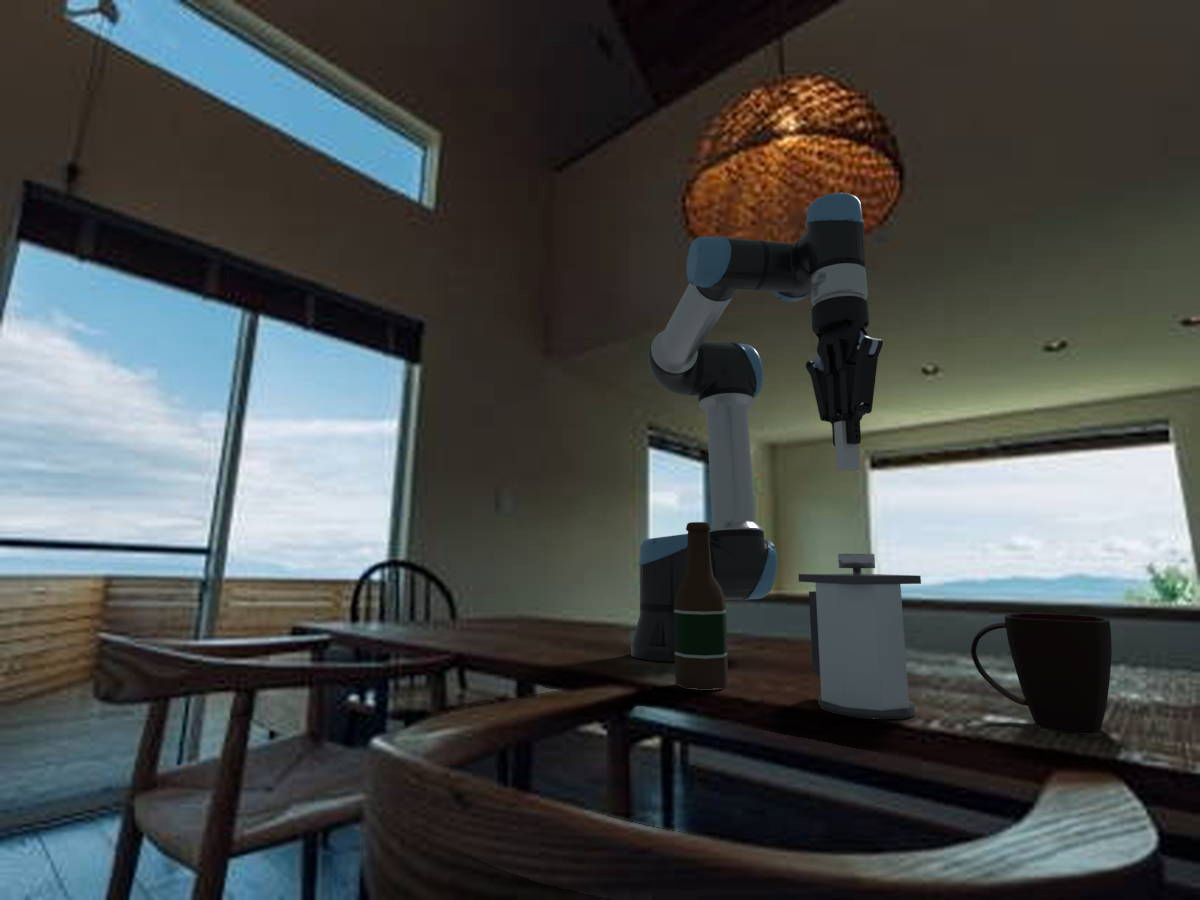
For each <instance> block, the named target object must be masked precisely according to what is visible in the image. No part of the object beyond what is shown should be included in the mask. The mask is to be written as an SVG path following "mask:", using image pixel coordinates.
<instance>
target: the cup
mask: <svg viewBox="0 0 1200 900" xmlns="http://www.w3.org/2000/svg"><path fill="white" fill-rule="evenodd" d="M999 629H1006V630H1005V631H1006V635H1007V636H1006V637H1007V641H1008V646H1009V650H1010V653H1011V658H1012V662H1013V666H1014V669H1015V671H1016V676H1017V679H1018V681H1019V685H1020V689H1021V691H1022V695H1023V697H1024V699H1023V698H1021V697H1018V696H1017V695H1014V694H1013V693H1011V692H1010V691H1008V690H1007V689H1005V688H1004V687H1002V686H1001V685H1000V683H998V682H996V681H995V680H994V679H993V677H991V676H990V675H989V674H988V673H987V671H986V670H985V669H984V667H983V666H982V664H981V662H980V659H979V657H978V655H977V648H978V644H979V641H980V639H981V638H982V637H983V636H985V635H986V634H987V633H989V632H992V631H995V630H999ZM1111 629H1112V627H1111V621H1110V619H1109V618H1106V617H1103V616H1102V617H1100V616H1092V615H1078V614H1077V615H1075V614H1057V613H1056V614H1055V613H1054V614H1053V613H1026V612H1025V613H1023V612H1022V613H1021V612H1018V613H1017V612H1016V613H1009V614H1008V613H1007V614H1005V615H1004V622H997V623H991V624H990V625H988V626H985V627H983V628H982V629H980V630H979V631H978V632H976V634H975V636H974V637H973V638H972V642H971V647H970V654H971V659H972V661H973V663H974V666H975V667H976V669H977V671H978V673H979V674H980V675H981V676H982V678H983V679H984V680H985V681H986V682H987V683H988V684H989V685H990V686H991V687H992V688H993V689H994V690H996V691H998V692H999V693H1000V694H1001V695H1003V696H1004V697H1006V698H1007V699H1009V700H1010V701H1012V702H1014V703H1016V704H1018V705H1021V706H1027V708H1028V709H1029V710H1028V711H1029V712H1030V714H1031V717H1032V720H1033V721H1034V723H1035V724H1036V725H1037V726H1038V727H1039V728H1041V729H1046V730H1052V731H1058V732H1065V733H1074V734H1084V735H1094V734H1095V735H1096V734H1097V733H1099V732H1100V731H1101V729H1102V726H1103V723H1104V718H1105V714H1106V710H1107V705H1108V698H1109V690H1110V689H1109V687H1110V680H1111V669H1112V657H1113V655H1112V654H1113V653H1112V651H1113V648H1112V645H1113V644H1112V630H1111Z"/></svg>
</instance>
